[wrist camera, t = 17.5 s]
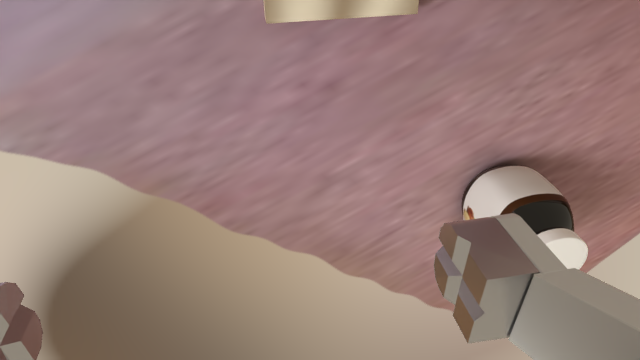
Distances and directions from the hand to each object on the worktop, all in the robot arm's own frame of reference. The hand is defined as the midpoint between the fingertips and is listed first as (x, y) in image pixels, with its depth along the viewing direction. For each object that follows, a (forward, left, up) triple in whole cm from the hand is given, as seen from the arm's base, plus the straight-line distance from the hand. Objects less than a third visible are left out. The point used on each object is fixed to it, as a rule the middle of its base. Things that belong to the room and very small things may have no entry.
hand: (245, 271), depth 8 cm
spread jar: (+28, -24, -29) cm, 47 cm away
